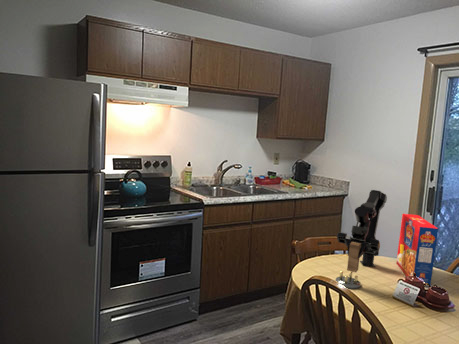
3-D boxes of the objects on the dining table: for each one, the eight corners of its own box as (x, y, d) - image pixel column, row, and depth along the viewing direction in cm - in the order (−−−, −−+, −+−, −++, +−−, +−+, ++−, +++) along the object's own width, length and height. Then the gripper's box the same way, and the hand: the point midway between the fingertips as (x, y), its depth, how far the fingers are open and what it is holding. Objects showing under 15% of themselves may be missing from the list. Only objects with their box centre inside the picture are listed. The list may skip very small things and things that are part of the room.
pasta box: (396, 263, 204) (402, 213, 200) (411, 265, 202) (418, 215, 199) (412, 284, 176) (419, 226, 173) (430, 286, 175) (438, 228, 171)
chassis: (339, 276, 179) (340, 267, 178) (363, 283, 173) (364, 273, 172) (332, 283, 170) (333, 274, 169) (356, 291, 164) (357, 281, 163)
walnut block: (349, 267, 172) (352, 241, 171) (358, 269, 170) (361, 243, 169) (347, 270, 169) (349, 243, 167) (356, 272, 167) (359, 245, 165)
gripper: (339, 215, 175) (330, 243, 167) (381, 222, 165) (373, 253, 157) (342, 228, 183) (333, 255, 175) (382, 236, 173) (375, 265, 165)
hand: (353, 257), depth 168 cm, fingers closed on walnut block, 4 cm apart
